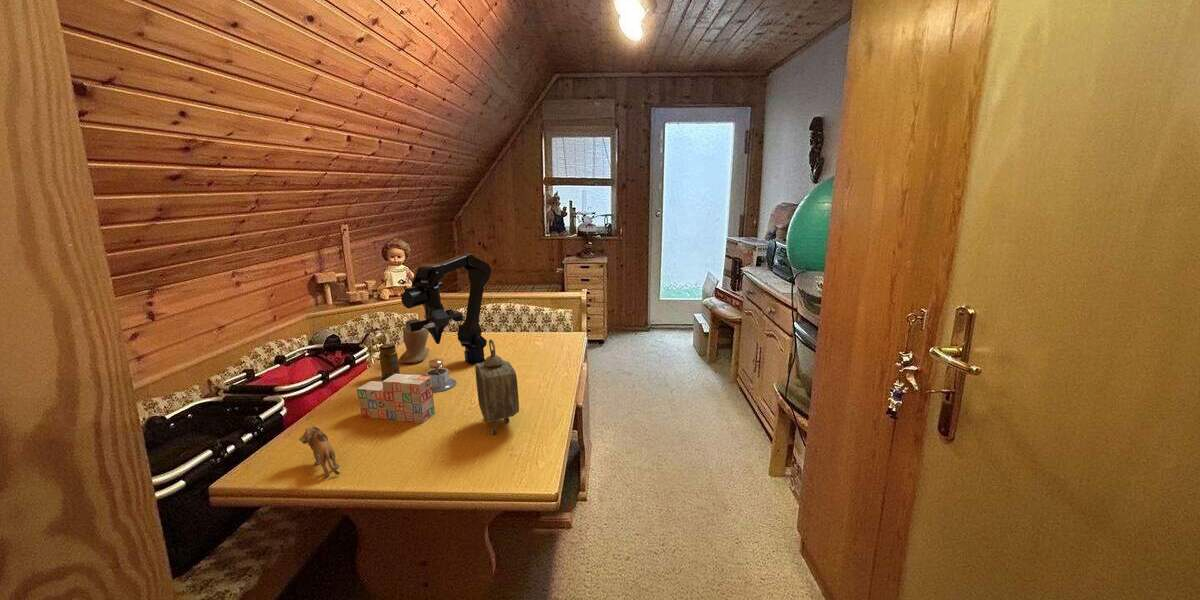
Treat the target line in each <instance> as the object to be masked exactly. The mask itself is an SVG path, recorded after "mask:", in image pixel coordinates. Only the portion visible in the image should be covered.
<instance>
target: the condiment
mask: <svg viewBox="0 0 1200 600" xmlns="http://www.w3.org/2000/svg"><path fill="white" fill-rule="evenodd" d="M378 349H379V354H378V357H379V365H380V371H381V375H377V377H378V378H379V379H380V380H381V382H382V381H384V380H386V379H387V378H389V377H390V376H392V375H394V374H399V373H401V372H400V364H399V363H400V362H399V356H398V351H397V349H396V345H395V343H383V344H381V345H380V346H379V348H378Z"/></svg>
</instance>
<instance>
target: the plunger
mask: <svg viewBox="0 0 1200 600" xmlns="http://www.w3.org/2000/svg"><path fill="white" fill-rule="evenodd" d="M428 364H429V365H428V367H429V368H430V369H435V370H436V375H438V368H443V366H444V362H443V359H442V358H434V359H431V360H429V361H428Z"/></svg>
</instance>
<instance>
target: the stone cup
mask: <svg viewBox="0 0 1200 600" xmlns="http://www.w3.org/2000/svg"><path fill="white" fill-rule="evenodd" d="M429 334H430V332H429V331H428V330H427V329H425V328H422V329H421V330H418V331H414V332H411V331H409V330H408V329H406V325H405V324H404V326H403V330H402V337H403V343H404V345H405V349H406V350H405V351H404V352H403V353H402V354H401V356H400V357H398V362H399V363H404V364H406V363H407V364H412V363H419V362H422V361H423V360H425V358H426V357H427V356H428V354H429V353H430V351H431V349H429V348H428V347H426V345H427V341H428V337H429Z"/></svg>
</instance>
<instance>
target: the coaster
mask: <svg viewBox="0 0 1200 600" xmlns="http://www.w3.org/2000/svg"><path fill="white" fill-rule="evenodd" d="M456 386H457V380H456V379H454V378H451V377H450V384H449V385H448V386H446V387H444V388H439V389H433V394H434V393H435V394H437V393H442V392H445V391H446V392H447V391H448V390H451V389H454V387H456Z"/></svg>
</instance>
